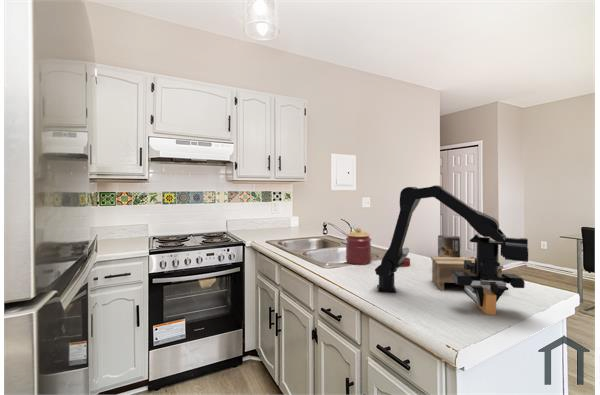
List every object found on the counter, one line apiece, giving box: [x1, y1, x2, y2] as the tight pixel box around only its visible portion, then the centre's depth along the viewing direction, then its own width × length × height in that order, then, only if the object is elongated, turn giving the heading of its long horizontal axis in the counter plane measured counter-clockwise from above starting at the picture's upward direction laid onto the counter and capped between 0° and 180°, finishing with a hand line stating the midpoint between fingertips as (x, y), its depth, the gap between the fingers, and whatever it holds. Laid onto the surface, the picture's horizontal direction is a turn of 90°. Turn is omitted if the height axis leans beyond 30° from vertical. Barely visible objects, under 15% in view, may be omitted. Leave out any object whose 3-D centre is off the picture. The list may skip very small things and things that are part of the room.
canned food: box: [400, 247, 411, 268], centre depth 149 cm, size 11×10×10 cm
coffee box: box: [437, 234, 461, 258], centre depth 135 cm, size 9×6×16 cm
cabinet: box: [430, 256, 504, 291], centre depth 116 cm, size 12×22×10 cm, turn 80°
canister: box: [345, 227, 372, 266], centre depth 154 cm, size 13×13×18 cm
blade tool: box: [463, 284, 497, 316], centre depth 100 cm, size 19×9×6 cm, turn 171°
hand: (486, 306), depth 94 cm, fingers closed on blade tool, 3 cm apart
